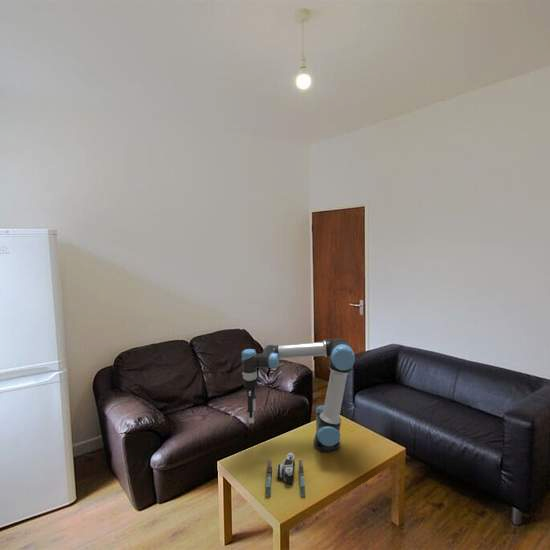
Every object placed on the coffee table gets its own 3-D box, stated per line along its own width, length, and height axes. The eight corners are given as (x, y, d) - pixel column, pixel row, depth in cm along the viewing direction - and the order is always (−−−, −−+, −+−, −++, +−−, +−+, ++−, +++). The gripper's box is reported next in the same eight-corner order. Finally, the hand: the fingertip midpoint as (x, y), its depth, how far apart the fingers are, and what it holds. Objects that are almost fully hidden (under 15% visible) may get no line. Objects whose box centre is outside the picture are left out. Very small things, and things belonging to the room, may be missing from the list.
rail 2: (302, 469, 187) (302, 459, 187) (305, 496, 167) (304, 485, 167) (298, 469, 187) (298, 459, 187) (300, 496, 167) (300, 485, 167)
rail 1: (271, 469, 188) (271, 459, 187) (270, 496, 168) (270, 486, 167) (268, 469, 188) (267, 459, 187) (266, 496, 168) (265, 486, 167)
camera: (279, 465, 191) (279, 447, 190) (295, 466, 190) (295, 448, 189) (276, 486, 175) (275, 466, 174) (294, 486, 174) (293, 467, 173)
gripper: (245, 370, 206) (247, 406, 208) (240, 388, 181) (243, 428, 183) (258, 369, 206) (260, 405, 208) (255, 387, 181) (258, 427, 183)
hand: (252, 416), depth 195 cm, fingers open, 13 cm apart
